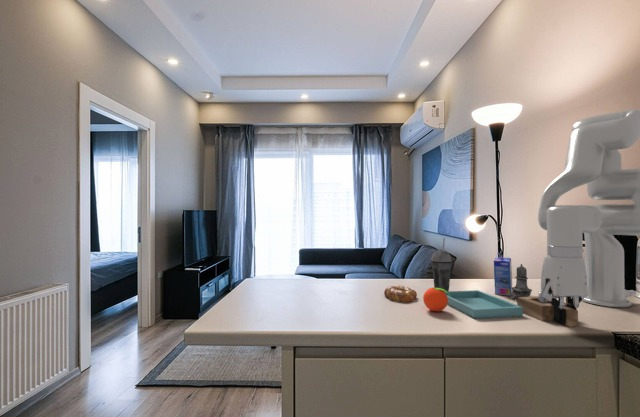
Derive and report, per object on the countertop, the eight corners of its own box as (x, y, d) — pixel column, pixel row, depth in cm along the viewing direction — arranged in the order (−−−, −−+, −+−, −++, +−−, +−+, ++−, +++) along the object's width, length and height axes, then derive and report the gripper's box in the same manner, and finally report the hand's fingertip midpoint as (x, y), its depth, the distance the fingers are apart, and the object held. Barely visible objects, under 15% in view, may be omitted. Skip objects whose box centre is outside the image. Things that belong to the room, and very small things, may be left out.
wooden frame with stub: (544, 309, 98) (544, 295, 98) (589, 325, 85) (588, 309, 85) (517, 310, 97) (517, 297, 97) (558, 327, 83) (558, 311, 83)
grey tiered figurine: (535, 302, 105) (535, 265, 106) (515, 301, 107) (515, 265, 107) (527, 298, 111) (527, 262, 111) (508, 297, 112) (508, 262, 113)
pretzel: (422, 304, 106) (422, 292, 106) (388, 303, 106) (388, 292, 106) (412, 294, 118) (412, 283, 118) (382, 294, 118) (382, 283, 118)
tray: (478, 297, 112) (478, 290, 112) (522, 316, 92) (522, 307, 92) (437, 299, 110) (437, 291, 110) (474, 318, 90) (474, 309, 90)
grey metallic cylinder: (543, 313, 94) (543, 291, 94) (549, 315, 92) (548, 292, 92) (537, 313, 94) (536, 291, 94) (542, 316, 92) (542, 293, 92)
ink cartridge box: (495, 288, 125) (495, 250, 125) (512, 290, 122) (512, 251, 122) (493, 294, 116) (493, 253, 116) (511, 296, 113) (511, 254, 113)
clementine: (454, 310, 98) (453, 286, 98) (448, 316, 92) (448, 291, 92) (426, 306, 102) (426, 283, 102) (420, 312, 96) (420, 287, 96)
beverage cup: (426, 291, 120) (426, 237, 120) (443, 290, 122) (443, 236, 122) (439, 296, 113) (439, 239, 113) (457, 295, 115) (456, 238, 115)
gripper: (577, 250, 91) (578, 316, 91) (526, 251, 89) (526, 319, 89) (604, 253, 84) (605, 325, 84) (549, 255, 82) (550, 329, 81)
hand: (565, 321), depth 86 cm, fingers closed on wooden frame with stub, 2 cm apart
